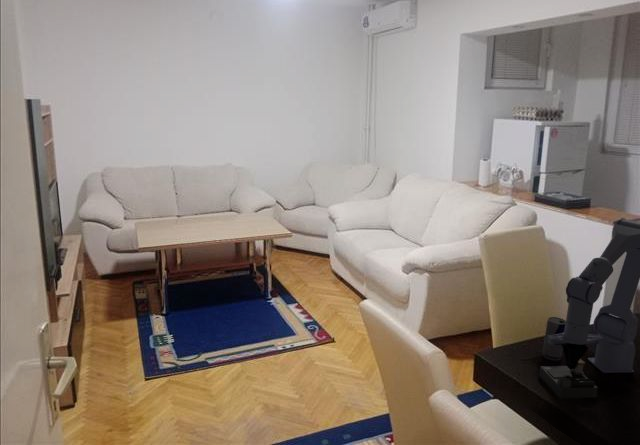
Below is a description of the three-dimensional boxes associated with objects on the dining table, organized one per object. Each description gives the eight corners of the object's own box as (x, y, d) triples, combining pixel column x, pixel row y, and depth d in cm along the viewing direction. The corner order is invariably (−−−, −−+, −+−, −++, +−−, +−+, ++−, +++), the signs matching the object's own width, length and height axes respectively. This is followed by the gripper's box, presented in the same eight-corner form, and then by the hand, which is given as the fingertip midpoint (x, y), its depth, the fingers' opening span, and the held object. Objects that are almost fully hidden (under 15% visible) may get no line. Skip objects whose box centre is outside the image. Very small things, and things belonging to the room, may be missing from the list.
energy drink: (563, 362, 151) (569, 325, 148) (544, 360, 152) (549, 323, 149) (558, 353, 156) (564, 317, 153) (540, 351, 157) (545, 315, 154)
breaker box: (572, 375, 144) (575, 360, 143) (596, 397, 133) (599, 381, 132) (539, 375, 143) (541, 360, 142) (559, 398, 132) (562, 382, 131)
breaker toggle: (578, 369, 140) (580, 357, 139) (584, 375, 137) (586, 362, 136) (569, 369, 140) (571, 357, 139) (575, 375, 137) (577, 363, 136)
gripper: (594, 315, 139) (586, 359, 142) (544, 315, 138) (537, 360, 141) (610, 326, 132) (602, 372, 135) (558, 327, 131) (550, 373, 134)
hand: (570, 367), depth 138 cm, fingers closed
